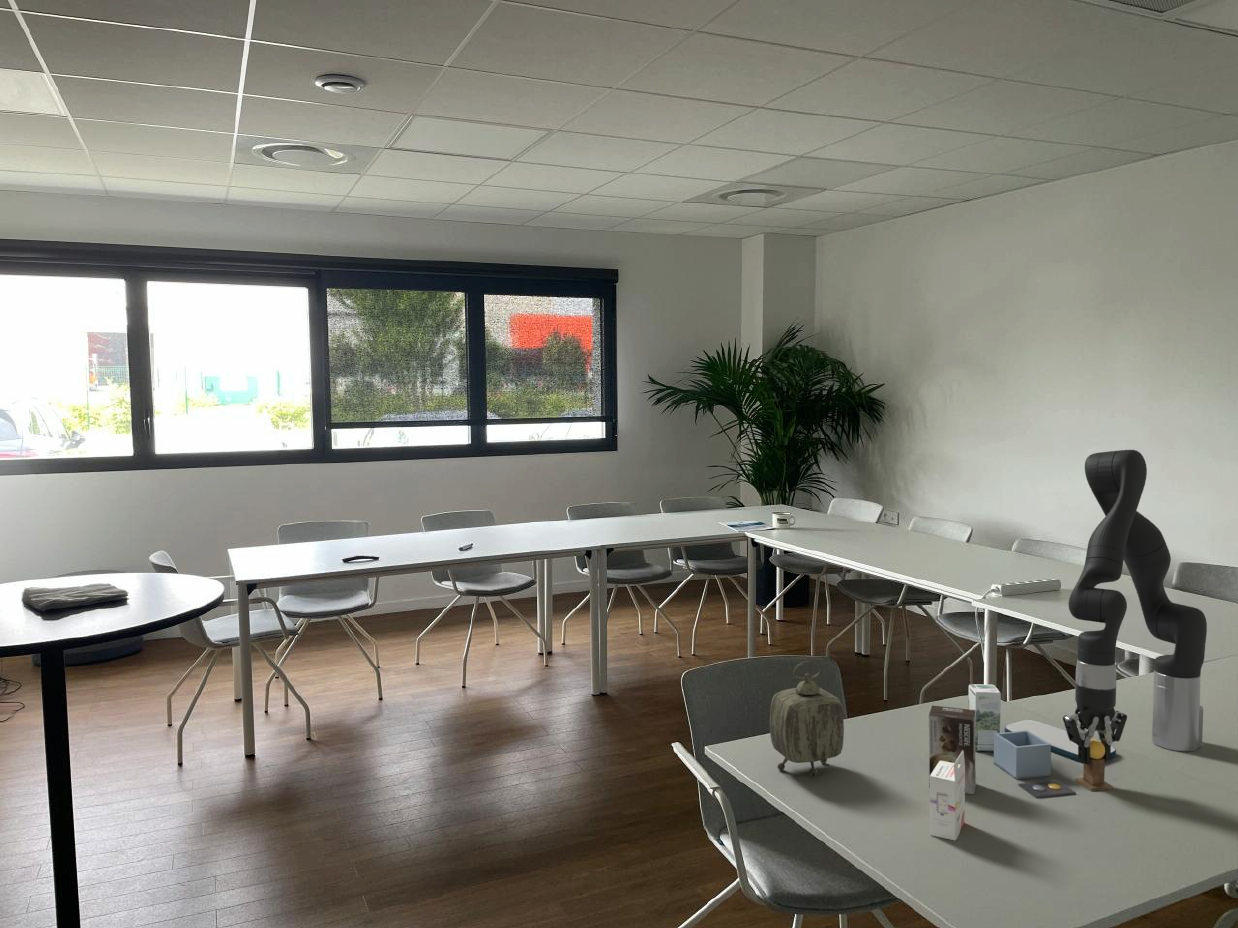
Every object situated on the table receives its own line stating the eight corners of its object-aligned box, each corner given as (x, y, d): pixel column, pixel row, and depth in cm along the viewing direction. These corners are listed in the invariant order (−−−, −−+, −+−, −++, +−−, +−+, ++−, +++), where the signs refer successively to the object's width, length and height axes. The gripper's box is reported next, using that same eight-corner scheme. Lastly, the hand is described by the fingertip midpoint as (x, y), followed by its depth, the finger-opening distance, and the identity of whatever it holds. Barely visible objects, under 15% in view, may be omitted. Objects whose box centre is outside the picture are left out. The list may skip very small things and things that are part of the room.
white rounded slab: (1121, 757, 202) (1122, 748, 202) (1092, 768, 196) (1092, 760, 196) (1028, 725, 222) (1028, 717, 222) (998, 735, 217) (998, 727, 216)
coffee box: (976, 782, 190) (976, 709, 188) (974, 795, 184) (975, 719, 182) (931, 776, 193) (931, 703, 192) (928, 788, 188) (928, 713, 186)
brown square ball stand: (1095, 778, 190) (1096, 751, 190) (1112, 788, 186) (1113, 760, 185) (1075, 780, 190) (1075, 753, 189) (1091, 790, 185) (1091, 763, 184)
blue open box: (1026, 760, 200) (1027, 730, 200) (1050, 775, 192) (1050, 744, 192) (993, 763, 199) (994, 733, 198) (1016, 779, 191) (1016, 747, 190)
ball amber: (1096, 753, 189) (1096, 735, 189) (1109, 761, 185) (1109, 742, 185) (1079, 755, 189) (1079, 736, 188) (1092, 762, 185) (1092, 744, 184)
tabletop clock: (826, 759, 203) (826, 652, 201) (848, 775, 195) (848, 663, 193) (769, 768, 199) (769, 659, 197) (789, 785, 190) (788, 671, 188)
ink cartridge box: (938, 816, 175) (939, 744, 174) (965, 822, 172) (965, 749, 171) (928, 835, 168) (929, 759, 167) (956, 841, 165) (956, 765, 164)
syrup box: (992, 742, 211) (993, 683, 210) (1000, 752, 205) (1001, 691, 204) (967, 742, 212) (968, 682, 210) (974, 752, 206) (975, 691, 205)
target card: (1056, 781, 189) (1056, 778, 189) (1075, 793, 183) (1075, 791, 183) (1018, 785, 188) (1018, 782, 188) (1036, 797, 182) (1036, 795, 182)
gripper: (1113, 674, 191) (1111, 751, 192) (1053, 679, 188) (1052, 757, 190) (1139, 685, 183) (1137, 765, 185) (1077, 690, 181) (1075, 771, 182)
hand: (1094, 761), depth 187 cm, fingers closed on ball amber, 4 cm apart
